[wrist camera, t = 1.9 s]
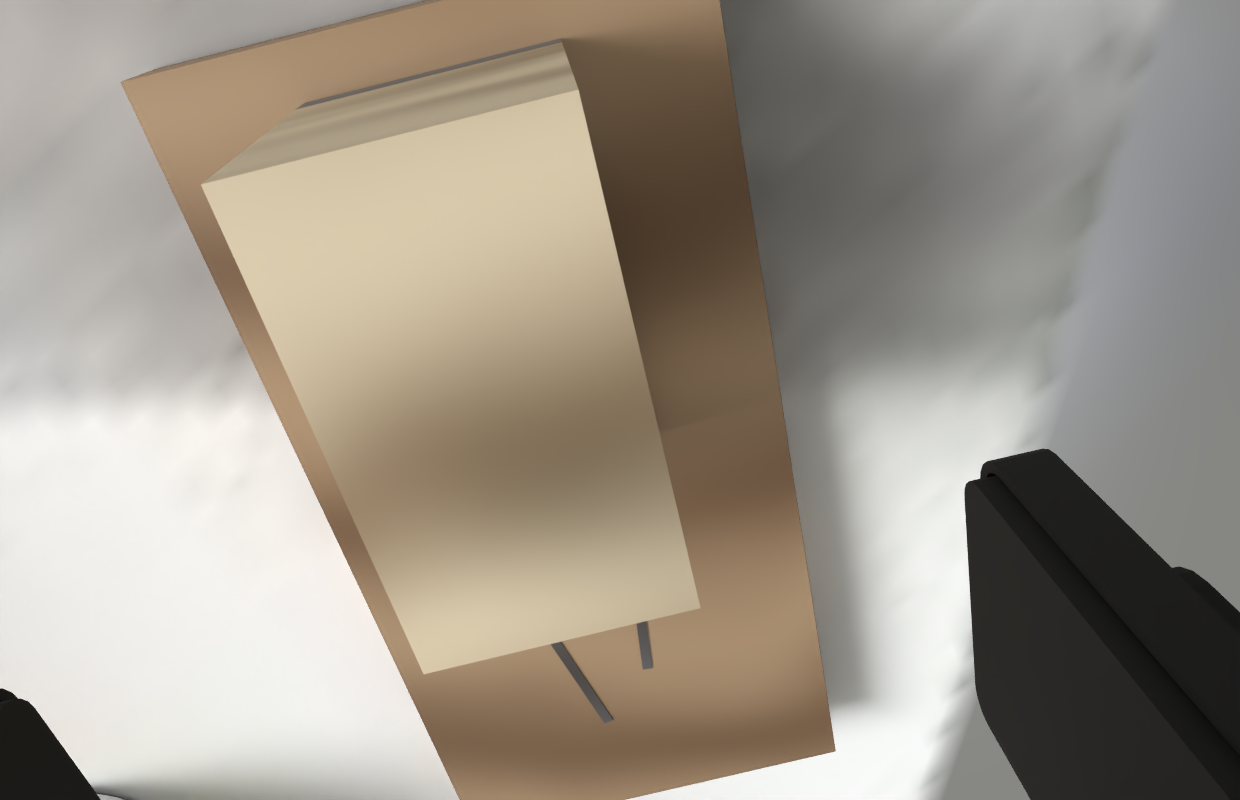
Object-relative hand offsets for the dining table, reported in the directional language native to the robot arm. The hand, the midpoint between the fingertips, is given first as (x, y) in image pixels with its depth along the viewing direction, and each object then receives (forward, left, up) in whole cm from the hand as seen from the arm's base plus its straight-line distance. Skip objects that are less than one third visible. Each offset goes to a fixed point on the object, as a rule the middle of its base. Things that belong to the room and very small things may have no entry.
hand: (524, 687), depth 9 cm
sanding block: (-1, 0, -10) cm, 10 cm away
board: (+4, 0, -11) cm, 12 cm away
